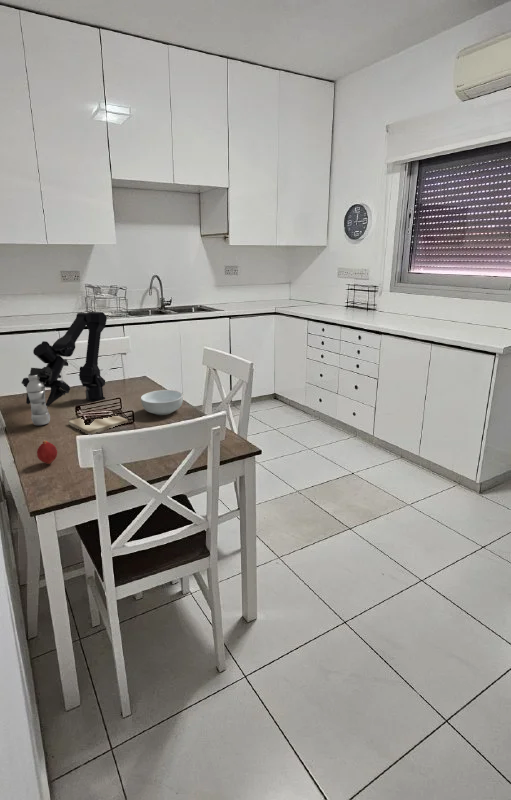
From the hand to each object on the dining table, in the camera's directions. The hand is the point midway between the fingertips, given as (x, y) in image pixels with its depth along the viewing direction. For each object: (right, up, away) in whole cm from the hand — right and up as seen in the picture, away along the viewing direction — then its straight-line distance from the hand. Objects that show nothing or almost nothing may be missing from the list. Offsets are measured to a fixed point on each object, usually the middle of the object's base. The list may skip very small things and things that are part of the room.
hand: (37, 404), depth 177 cm
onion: (+18, -18, -31) cm, 40 cm away
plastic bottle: (0, -8, +3) cm, 8 cm away
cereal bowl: (+45, -3, +15) cm, 48 cm away
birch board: (+23, -8, +2) cm, 24 cm away
